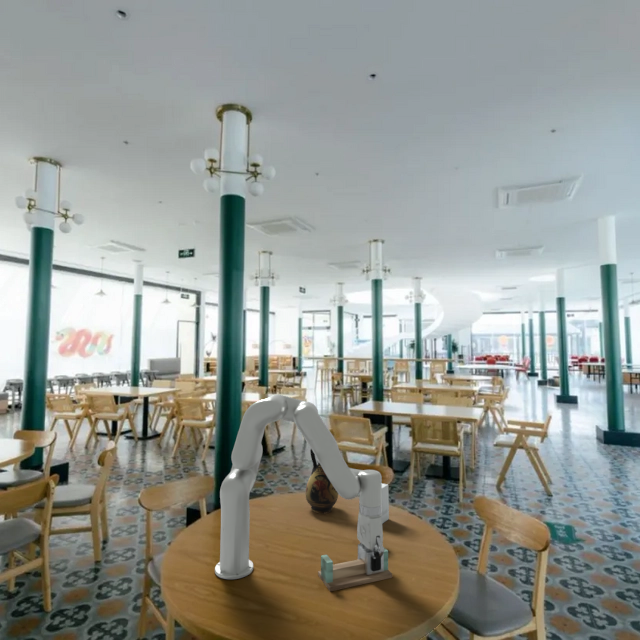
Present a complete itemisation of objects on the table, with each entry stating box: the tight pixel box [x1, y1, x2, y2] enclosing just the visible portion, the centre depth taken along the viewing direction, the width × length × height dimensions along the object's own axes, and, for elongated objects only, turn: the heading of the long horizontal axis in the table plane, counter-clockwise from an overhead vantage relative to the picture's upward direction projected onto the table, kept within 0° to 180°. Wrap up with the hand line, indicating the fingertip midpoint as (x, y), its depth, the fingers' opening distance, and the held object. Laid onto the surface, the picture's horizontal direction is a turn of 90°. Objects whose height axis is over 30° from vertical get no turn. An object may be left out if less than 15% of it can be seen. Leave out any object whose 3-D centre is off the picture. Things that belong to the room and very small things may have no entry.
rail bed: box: [317, 546, 393, 592], centre depth 135 cm, size 10×22×7 cm, turn 112°
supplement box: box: [381, 483, 390, 525], centre depth 181 cm, size 9×9×15 cm
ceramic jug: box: [305, 448, 339, 515], centre depth 193 cm, size 17×15×30 cm
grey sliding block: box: [357, 543, 384, 575], centre depth 137 cm, size 7×6×7 cm
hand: (370, 564), depth 137 cm, fingers closed on grey sliding block, 6 cm apart
